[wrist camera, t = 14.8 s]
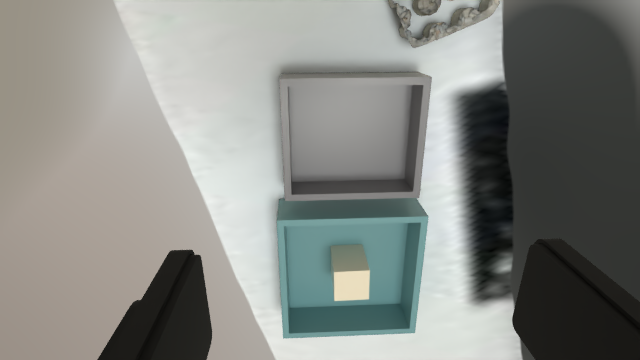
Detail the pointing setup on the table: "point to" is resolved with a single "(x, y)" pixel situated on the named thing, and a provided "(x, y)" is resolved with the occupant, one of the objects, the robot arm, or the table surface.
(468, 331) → the table surface
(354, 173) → the bin
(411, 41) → the egg carton
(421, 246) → the bin
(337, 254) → the stone block
